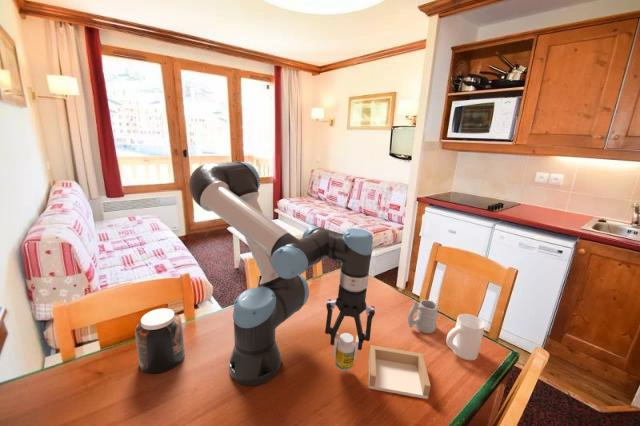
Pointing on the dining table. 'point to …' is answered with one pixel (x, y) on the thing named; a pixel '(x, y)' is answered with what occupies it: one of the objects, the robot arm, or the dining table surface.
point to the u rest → (398, 372)
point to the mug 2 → (466, 336)
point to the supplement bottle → (345, 352)
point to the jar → (159, 341)
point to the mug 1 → (424, 316)
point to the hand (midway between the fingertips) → (344, 355)
